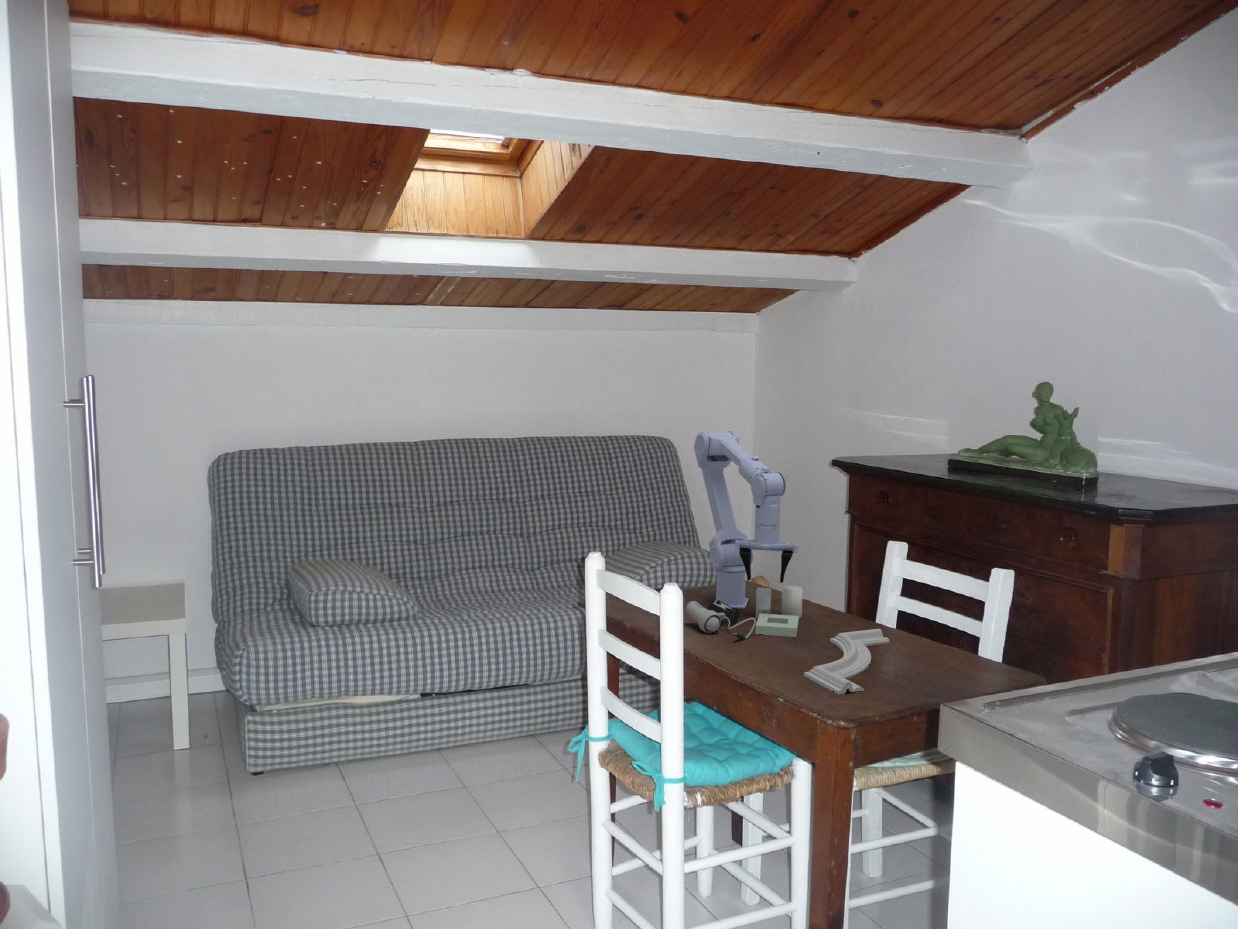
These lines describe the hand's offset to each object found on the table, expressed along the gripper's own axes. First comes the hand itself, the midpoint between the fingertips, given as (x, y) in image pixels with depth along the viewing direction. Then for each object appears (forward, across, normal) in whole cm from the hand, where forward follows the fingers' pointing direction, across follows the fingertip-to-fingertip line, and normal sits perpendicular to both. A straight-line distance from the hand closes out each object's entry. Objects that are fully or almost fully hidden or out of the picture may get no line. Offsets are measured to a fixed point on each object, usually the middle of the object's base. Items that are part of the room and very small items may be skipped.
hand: (765, 580), depth 232 cm
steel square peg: (+9, 0, +1) cm, 9 cm away
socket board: (+9, +4, -8) cm, 13 cm away
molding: (+10, +22, -29) cm, 37 cm away
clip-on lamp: (+10, -8, -13) cm, 18 cm away
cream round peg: (+9, +6, +4) cm, 12 cm away
